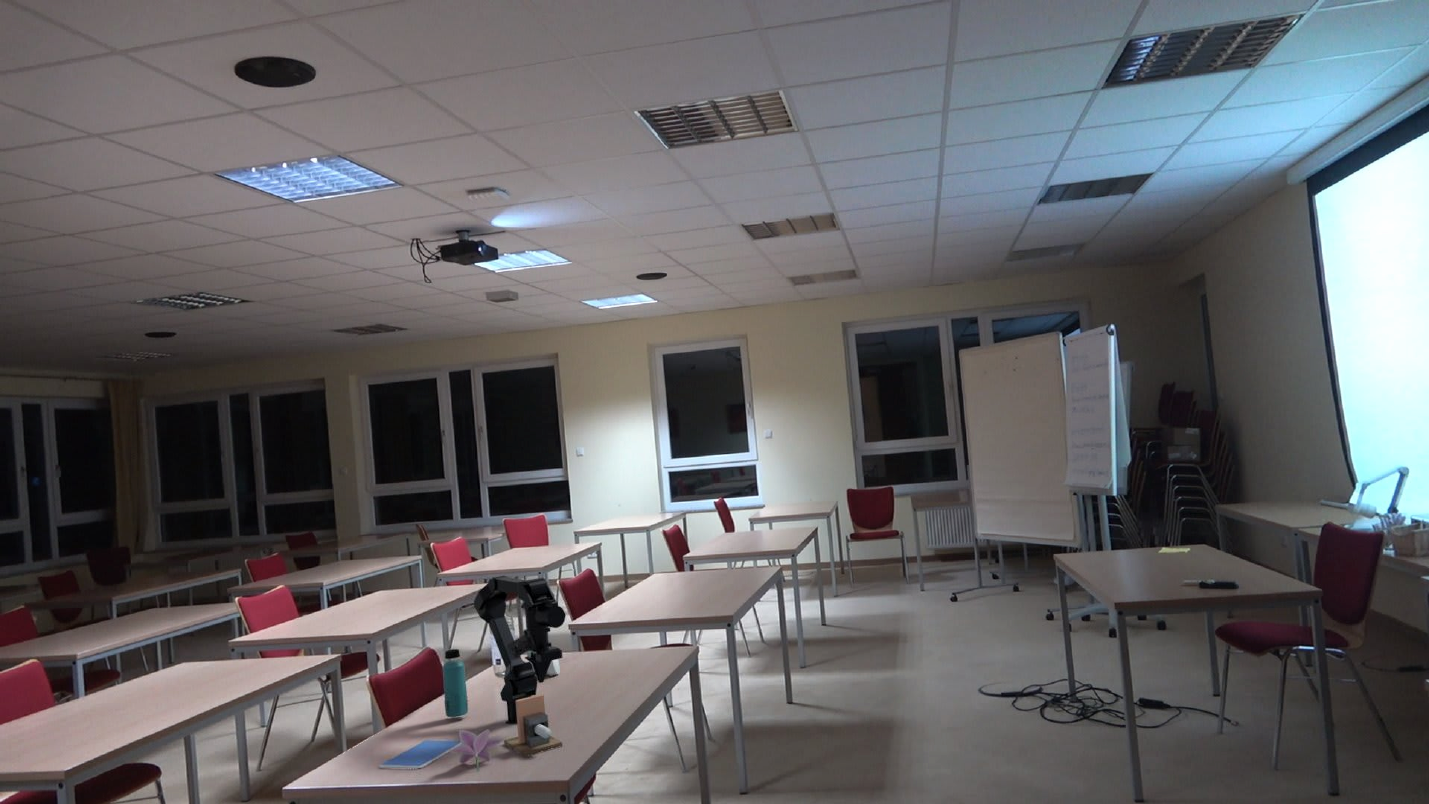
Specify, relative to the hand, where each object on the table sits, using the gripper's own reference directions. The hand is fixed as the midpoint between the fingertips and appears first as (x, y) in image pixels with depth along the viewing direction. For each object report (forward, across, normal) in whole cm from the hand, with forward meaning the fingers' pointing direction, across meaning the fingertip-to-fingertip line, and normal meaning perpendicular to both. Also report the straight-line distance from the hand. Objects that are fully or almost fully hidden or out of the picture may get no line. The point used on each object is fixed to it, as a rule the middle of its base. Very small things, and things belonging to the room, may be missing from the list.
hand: (541, 682), depth 239 cm
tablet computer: (+13, -4, -32) cm, 34 cm away
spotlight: (+12, -56, +24) cm, 62 cm away
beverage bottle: (+12, -29, -15) cm, 35 cm away
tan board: (+12, +12, -9) cm, 19 cm away
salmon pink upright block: (+11, +17, -8) cm, 22 cm away
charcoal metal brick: (+12, +16, -8) cm, 21 cm away
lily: (+12, +16, -24) cm, 32 cm away
